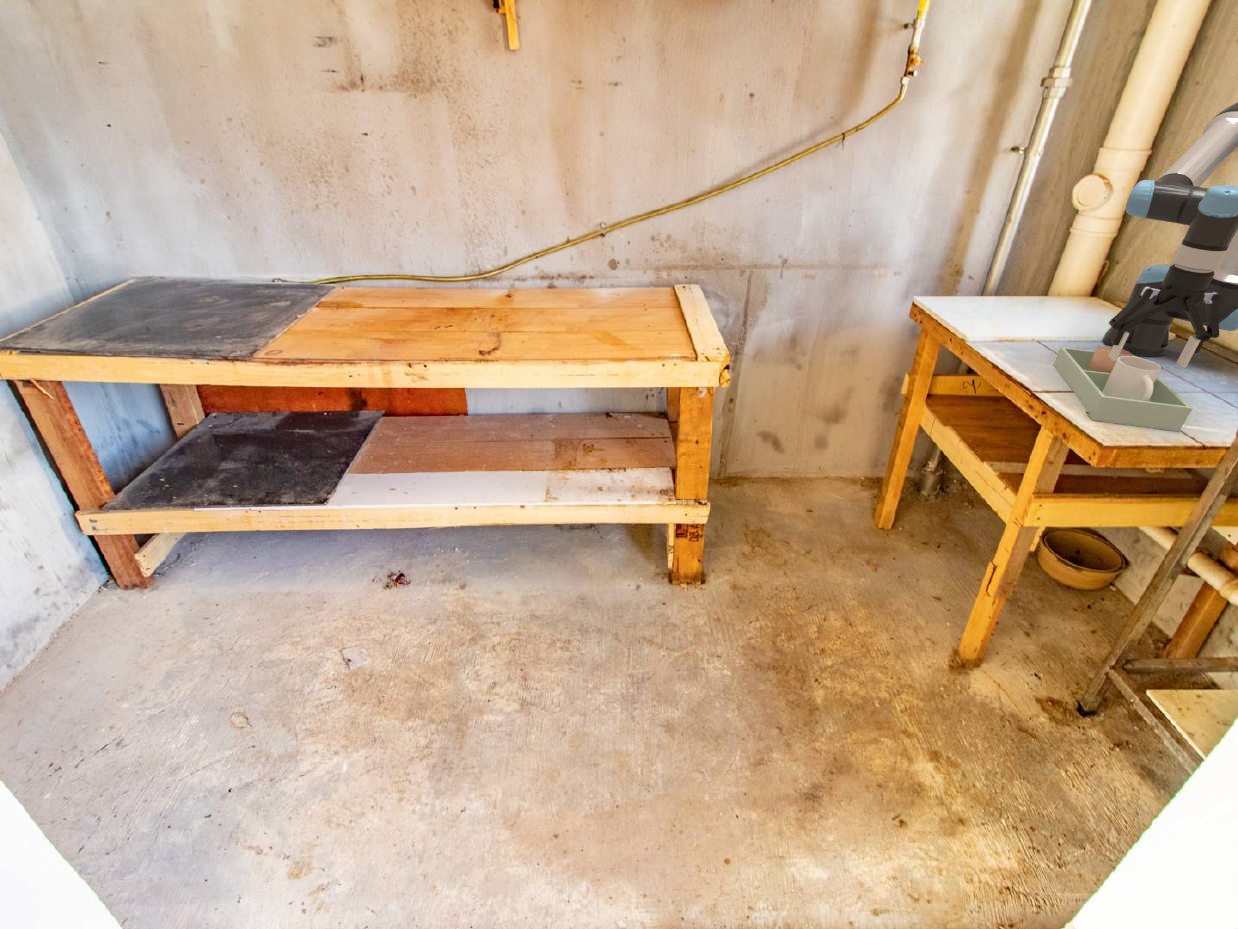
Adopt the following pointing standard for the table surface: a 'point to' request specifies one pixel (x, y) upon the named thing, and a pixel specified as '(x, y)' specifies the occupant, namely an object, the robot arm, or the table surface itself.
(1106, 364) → the peach rounded cylinder
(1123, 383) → the mug
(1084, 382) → the caddy
